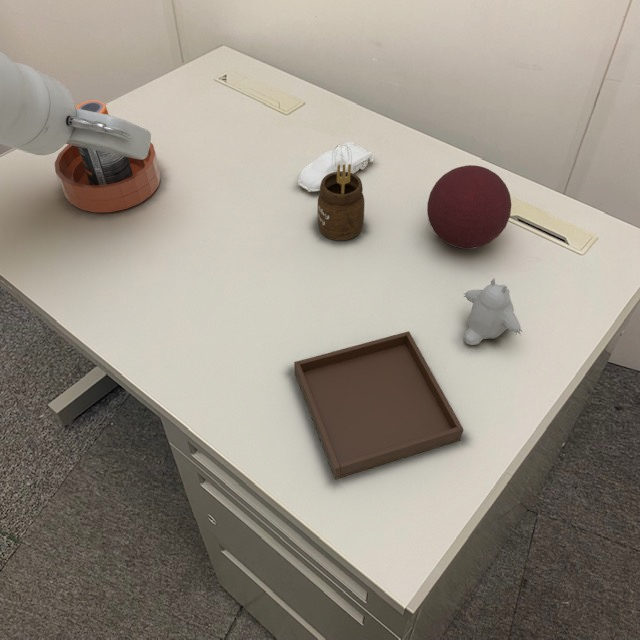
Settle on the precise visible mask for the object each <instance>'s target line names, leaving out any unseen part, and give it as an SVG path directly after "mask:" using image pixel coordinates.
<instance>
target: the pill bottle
mask: <svg viewBox="0 0 640 640" xmlns="http://www.w3.org/2000/svg"><path fill="white" fill-rule="evenodd" d="M75 108H77V109H82V110H87V111H92V112H97V113H102V114H107V115H109V111H108V108H107V105H106V104H105V103H104V102H103V101H101V100H97V99H96V100H95V99H90V100H86V101H82V102H80V103H78V104H77V105H75ZM77 148H78V150H79V153H80V156H81V159H82V162H83V165H84V168H85V171H86V174H87V176H88V179H89V182H90V185H107V184H112V183H117V182H120V181H122V180H125V179H127V178H130V177H132V176H133V173H132V169H131V165H130V162H129V158H128V157H125V156H120V155H115V154H111V153H106V152H101V151H97V150H92V149H87V148H83V147H78V146H77Z"/></svg>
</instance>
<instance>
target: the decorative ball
mask: <svg viewBox="0 0 640 640" xmlns="http://www.w3.org/2000/svg"><path fill="white" fill-rule="evenodd" d="M429 192H430V193H429V196H428V200H427V210H426V211H427V218H428V221H429V225H430V226H431V228H432V230H433V232H434V233H435V235H436V236H437V237H439V239H441V240H442V241H443V242H444V243H446V244H448V245H449V246H452V247H455V248H459V249H466V250H467V249H468V250H469V249H477V248H481V247H484V246H485V245H488V244H491V242H493V241H495V239H497V237H498V238H499V236H500V235H501V234H502V232H503V231H504V230H505V229H506V227H507V225H508V223H509V220H510V217H511V213H512V212H511V211H512V198H511V193H510V191H509V187H508V186H507V184H506V183H505V182H504V180H503V179H502V178H501V177H500V175H498V174H497V173H496V172H494V171H493V170H491V169H489V168H487V167H484V166H481V165H472V164H469V165H468V164H467V165H462V166H459V167H454V168H453V169H451V170H449V171H448V172H446V173H444V174H443V175H442V176H441V177H440V178H439V179H438V180H437V181H436V182H435V184H434V185H433V187H432V189H431V190H430V191H429Z"/></svg>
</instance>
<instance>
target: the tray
mask: <svg viewBox="0 0 640 640" xmlns="http://www.w3.org/2000/svg"><path fill="white" fill-rule="evenodd" d="M293 365H294V366H293V367H294V375H295V377H296V380H297V382H298V386H299V388H300V391H301V393H302V396H303V399H304V401H305V404H306V406H307V409H308V412H309V414H310V417H311V420H312V422H313V424H314V428H315V430H316V432H317V435H318V437H319V441H320V443H321V446H322V448H323V451H324V454H325V456H326V458H327V461H328V464H329V466H330V470H331V472H332V474H333V477H334V480H337V479H340V478H343V477H347V476H350V475H353V474H356V473H359V472H362V471H366V470H369V469H373V468H376V467H378V466H382V465H386V464H388V463H392V462H394V461H398V460H401V459H404V458H405V459H406V458H408V457H411V456H415V455H417V454H421V453H424V452H426V451H430V450H433V449H436V448H439V447H442V446H446V445H449V444H450V445H451V444H452V443H456V442H459V441H461V440H462V436H463V434H464V430H465V429H464V428H463V426H462V424H461V422H460V420H459V419H458V417H457V415H456V412H455V411H454V410H453V408H452V406H451V404H450V402H449V401H448V398H447V397H446V395H445V393H444V392H443V389H442V388H441V386H440V384H439V382H438V381H437V379H436V377H435V376H434V373H433V371H432V369H431V368H430V366H429V364H428V363H427V361H426V359H425V357H424V356H423V354H422V351H421V350H420V348H419V347H418V344H417V343H416V341H415V339H414V338H413V335H412V334H411V332H410V331H404V332H400V333H397V334H394V335H390V336H387V337H383V338H379V339H375V340H371V341H368V342H364V343H363V342H362V343H360V344H356V345H352V346H348V347H344V348H341V349H337V350H334V351H331V352H327V353H326V352H325V353H323V354H319V355H315V356H311V357H308V358H304V359H301V360H296V361H294V362H293Z"/></svg>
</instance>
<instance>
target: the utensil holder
mask: <svg viewBox="0 0 640 640" xmlns="http://www.w3.org/2000/svg"><path fill="white" fill-rule="evenodd" d="M339 146H340V147H341V148H342V155H343V147H342V146H344V147H345V145H343V143H342V144H338V145H336V146H335V147H334V148H333V149H334V150H335V149H336V148H337V147H339ZM347 147H348V146H347ZM345 148H346V147H345ZM348 148H349V147H348ZM348 148H346V149H348ZM338 149H339V148H338ZM349 149H350V148H349ZM337 151H338V150H337ZM347 151H348V150H347ZM350 151H351V150H350ZM333 152H334V151H333ZM336 154H337V153H336ZM348 154H349V152H348ZM351 163H352V155H351ZM332 165H333V155H332ZM335 167H336V165H335ZM342 167H343V170H342ZM342 167H341V171H340V164H338V167H337V170H336V172H333V173H330V174H328V175H326V176H325V177H324V178H323V179H322V181H321V186H320V191H319V194H318V197H317V224H318V229H319V231H320V233H321V234H322V235H323V236H324V237H326V238H328V239H330V240H334V241H348V240H351V239H354V238H355V237H357V236H358V235H359V234H360V233H361V232H362V230H363V226H364V220H365V197H364V193H363V190H364V188H363V182H362V180H361V178H360V177H359V176H358V175H356V173H354V174H353V173H351V164H349V165H348V164H347V167H348V172H345V168H346V165H345V164H343V166H342ZM333 170H334V168H333ZM346 171H347V170H346Z"/></svg>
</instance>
